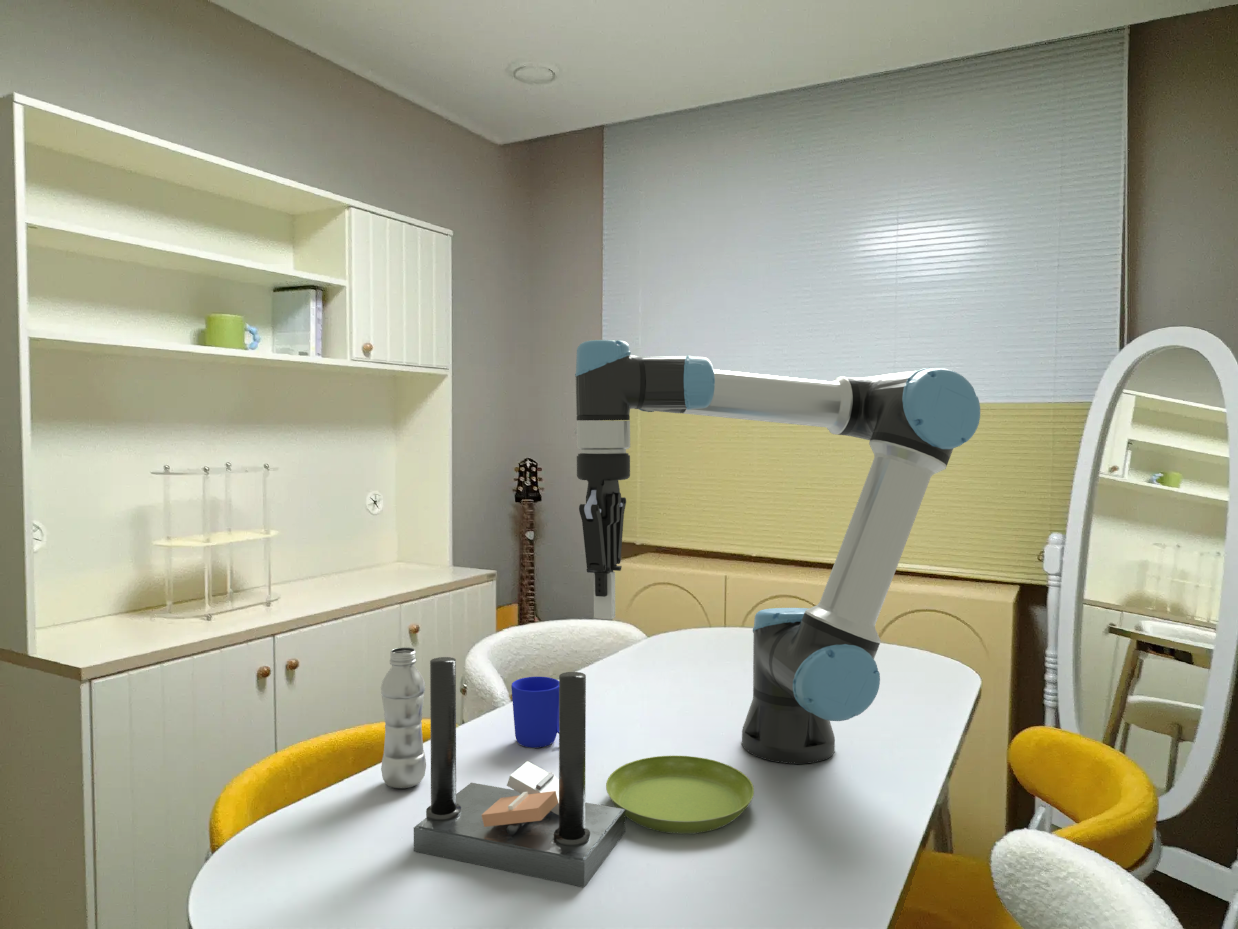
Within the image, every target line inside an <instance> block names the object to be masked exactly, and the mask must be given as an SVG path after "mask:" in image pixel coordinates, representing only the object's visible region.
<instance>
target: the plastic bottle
mask: <svg viewBox="0 0 1238 929" xmlns="http://www.w3.org/2000/svg"><path fill="white" fill-rule="evenodd" d="M416 654H417V652H416V648H413V647H407V646H406V647H405V646H404V647H403V646H402V647H401V646H400V647H395V648H393V649H391V650H390V659H389V664H390V666H391V667H390V669H389V670H388V671H387V673H386V675H385V676H384V678H383V680H382V681H381V682H382V683H381V686H380V691H381V692H380V693H381V694H380V695H381V699H382V707H383V712H384V713H383V716H384V729H385V730H384V731H385V733H384V746H383V754H382V758H381V768H380V770H381V771H380V772H381V776H382V780H383V782H384V783H385V784H386V786H388V787H390V788H392V789H393V788H394V789H406V788H413V787H415V786H417V785H419V784H421V782H422V781H423V779H424V777H425V775H426V769H427V760H426V754H425V750H424V742H423V730H422V724H423V722H422V720H423V708H424V707H423V706H424V698H425V691H426V683H425V679H424V677H423V675H422V673H421V672H420V670H418V668H417V667H416V666H415V664H416V663H417V658H416Z"/></svg>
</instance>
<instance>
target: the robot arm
mask: <svg viewBox="0 0 1238 929" xmlns="http://www.w3.org/2000/svg"><path fill="white" fill-rule="evenodd" d="M575 365H576V366H575V374H574V376H575V406H576V407H575V408H576V410H575V411H576V427H575V428H574V430H573V433H574V434H575V435H576V448H577V449H579V450H580V452H581V453H577V455H576V477H577V478H578V480H581V481H587V483H588V484H587V490H586V494H585V495H586V496H585V503H584V504H583V503H580V504H579V506H578V511H579V512H578V513H579V515H580V518H581V523H582V534H583V544H584V553H585V563H586V564H585V565H586V572H587V574H588V573H591V574H592V575H593V619H602V620H613V619H614V618H616V572H615V571H618V572H621V571H622V565H620V564H621V561H622V549H623V548H622V545H623V532H624V517H625V510H626V505H627V498H626V497H625V496H624V497H622V493H621V492H620V491H621V490H620V489H621V488H620V482H619V481H624V480H629V478H630V476H631V455H630V454H629V453H628V452H627V450H629V449H630V448H631V420H630V417H631V415H630V413H631V410H632V409H634V410H639V411H641V412H647V413H653V412H661V413H670V414H671V413H672V414H686V415H694V416H695V415H696V416H703V417H706V416H707V417H715V418H723V419H724V418H727V419H735V420H747V421H758V422H769V423H775V424H777V423H779V424H787V425H798V426H799V425H800V426H809V427H810V426H811V427H819V428H826V429H827V431H828V432H829V433H831V435H838V436H847V437H852V438H858V439H863V440H867V441H869V443H868V444H869V446H870V449H871V451H872V453H873V455H874V457H873V460H872V463H871V465H870V467H869V470H868V473H867V475H866V479H865V482H864V484H863V486H862V490H861V492H860V495H859V498H858V499H857V503H856V506H855V507H854V510H853V513H852V516H851V518H850V522H849V523H848V526H847V529H846V531H845V534H844V537H843V540H842V543H841V545H840V548H839V550H838V553H837V556H836V558H835V560H834V564H833V567H832V569H831V572H830V574H829V577H828V579H827V582H826V585H825V587H824V590H823V592H822V595H821V598H820V599H819V600H820V601H819V603H818V604H817V605H814V606H812V607H808V608H807V607H776V608H775V607H772V608H765V609H760V610H759V611H757V612H756V613H755V615H754V621H753V622H754V623H753V628H752V633H753V649H752V650H753V654H752V656H753V658H752V659H753V661H752V662H753V665H752V666H753V667H752V671H753V673H752V674H753V675H752V677H753V678H752V680H753V681H752V686H753V688H752V700H751V703H750V706H749V708H748V712H747V715H746V716H745V717H746V718H745V720H744V724H743V726H742V728H741V729H742V730H741V745H742V747H743V749H744V750H746V751H747V752H748V753H749V754H751V755H754V756H755V757H758V758H761V759H764V760H767V761H771V762H777V763H783V764H792V765H793V764H794V765H795V764H798V765H799V764H802V765H803V764H812V763H819V762H822V761H824V760H825V761H826V760H827V759H829V758H831V757H832V756H833V755H834V754H835V750H836V749H835V747H836V746H835V745H836V743H835V741H836V739H835V733H834V730H833V726H832V724H831V722H843V721H848V720H850V719H853V718H855V717H857V716H859V715H861V714H862V713H864V712H865V711H866V710H868V708H870V706H871V705H872V704H873V702H874V701H875V699H876V698H877V695H878V693H879V690H880V685H881V673H880V671H879V669H878V664H877V662H876V660H875V657H876V656H877V655H876V654H877V653H878V650H879V646H880V644H881V638H880V636H879V634H878V631H877V629H876V623H877V621H878V618H879V616H880V613H881V612H882V608H883V605H884V603H885V600H886V598H887V595H888V592H889V589H890V586H891V584H892V581H893V579H894V577H895V573H896V571H897V568H898V565H899V563H900V560H901V558H902V555H903V552H904V549H905V546H906V544H907V542H908V538H909V536H910V534H911V531H912V528H913V525H914V524H915V523H914V522H915V520H916V517H917V515H918V513H919V509H920V507H921V504H922V502H923V499H924V497H925V493H926V491H927V490H928V489H927V488H928V486H929V483H930V481H931V478H932V476H934V475H936V474H938V473H940V472H942V471H944V470H946V469H947V467H948V463H949V461H950V458H951V455H952V453H953V451H954V449H956V448H958V447H960V446H962V445H964V444H965V443H967V442H968V441H970V439H972V438H973V436H974V434H975V433H976V431H977V429H978V428H979V424H980V421H981V420H980V419H981V405H980V404H981V403H980V399H979V397H978V395H977V394H976V392H975V391H976V390H975V389H974V387H973V385H972V384H971V382H970V381H969V380H968V379H966V377H964V375H962V374H960V373H958V372H956V371H954V370H951V369H948V368H936V367H924V368H921V369H917V370H913V371H902V372H892V373H886V374H881V375H873V376H865V377H862V376H861V377H855V376H854V377H851V376H850V377H849V376H837V377H835V379H834V380H832V381H827V380H820V379H819V380H818V379H810V378H809V379H808V378H801V377H800V378H799V377H789V376H779V375H771V374H760V373H752V372H751V373H750V372H745V371H744V372H742V371H731V370H724V369H723V370H722V369H721V370H720V369H714V365H713V364H712V362H711V360H710V359H709V358H707V357H706V356H705V357H704V356H694V355H689V354H687V355H677V356H676V355H670V356H669V355H667V356H666V355H665V356H664V355H661V356H660V355H659V356H658V355H656V356H652V355H651V356H650V355H649V356H643V355H642V356H641V355H635V354H631V351H630V345H629V343H628V342H626V341H624V340H619V339H618V340H614V339H594V340H593V339H592V340H587V341H586V340H585V341H583V342H581V343H580V344H579V345H578V347H577V348H576V364H575Z"/></svg>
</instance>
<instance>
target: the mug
mask: <svg viewBox="0 0 1238 929" xmlns="http://www.w3.org/2000/svg"><path fill="white" fill-rule="evenodd" d="M510 686H511V687H510V688H511V698H512V709H513V710H512V712H513V724H514V725H513V726H514V735H515V739H516V742H517V743H518V744H519V745H520V746H523V747H524V748H525V747H526V748H530V749H531V748H532V749H534V748H535V749H536V748H537V749H539V748H545V747H548V746H550V745H551V744H553V743H554V742H555V740H556V737H557V734H558V735H559V680H558V679H556V678H553V677H548V676H527V677H522V678H519V679H516V680H514V681H513V682H512V683H511V685H510Z"/></svg>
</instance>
